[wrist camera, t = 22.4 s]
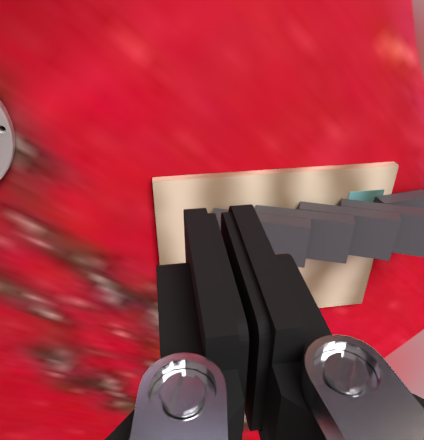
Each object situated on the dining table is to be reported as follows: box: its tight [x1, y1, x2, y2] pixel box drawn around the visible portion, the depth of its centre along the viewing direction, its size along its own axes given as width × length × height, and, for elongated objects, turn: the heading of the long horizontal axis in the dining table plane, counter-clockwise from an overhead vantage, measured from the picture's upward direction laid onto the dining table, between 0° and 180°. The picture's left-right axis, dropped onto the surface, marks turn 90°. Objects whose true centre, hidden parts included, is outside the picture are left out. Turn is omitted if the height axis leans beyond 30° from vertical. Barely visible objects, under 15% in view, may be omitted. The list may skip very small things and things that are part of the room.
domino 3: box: [299, 201, 401, 261], centre depth 43 cm, size 2×5×10 cm
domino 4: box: [375, 189, 424, 208], centre depth 46 cm, size 2×5×10 cm
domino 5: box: [340, 198, 424, 257], centre depth 44 cm, size 2×5×10 cm
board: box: [152, 162, 399, 308], centre depth 47 cm, size 26×20×1 cm
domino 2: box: [255, 205, 355, 264], centre depth 43 cm, size 2×5×10 cm
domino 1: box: [212, 208, 311, 268], centre depth 42 cm, size 2×5×10 cm
